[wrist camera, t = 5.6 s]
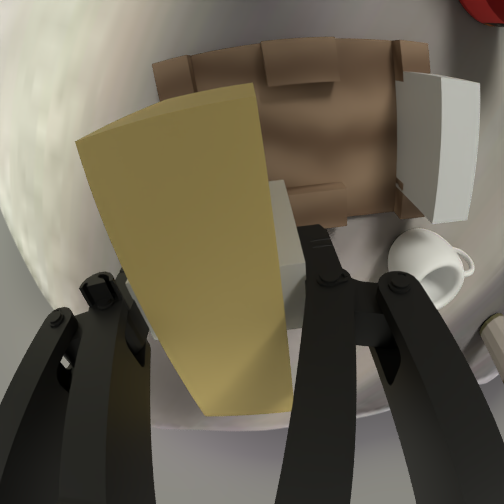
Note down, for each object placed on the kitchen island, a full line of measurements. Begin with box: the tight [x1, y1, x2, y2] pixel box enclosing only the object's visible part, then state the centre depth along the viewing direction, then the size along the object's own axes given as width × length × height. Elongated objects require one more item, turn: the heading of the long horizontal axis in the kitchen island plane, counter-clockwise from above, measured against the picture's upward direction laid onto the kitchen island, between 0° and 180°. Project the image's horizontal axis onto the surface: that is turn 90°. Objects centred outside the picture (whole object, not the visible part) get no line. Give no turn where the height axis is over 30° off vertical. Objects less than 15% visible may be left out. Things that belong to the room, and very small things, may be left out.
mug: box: [388, 228, 474, 310], centre depth 31 cm, size 12×8×8 cm
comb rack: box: [152, 37, 430, 228], centre depth 25 cm, size 18×24×3 cm
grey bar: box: [395, 71, 480, 224], centre depth 22 cm, size 12×4×8 cm, turn 9°
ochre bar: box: [75, 83, 293, 416], centre depth 12 cm, size 12×4×8 cm, turn 8°
